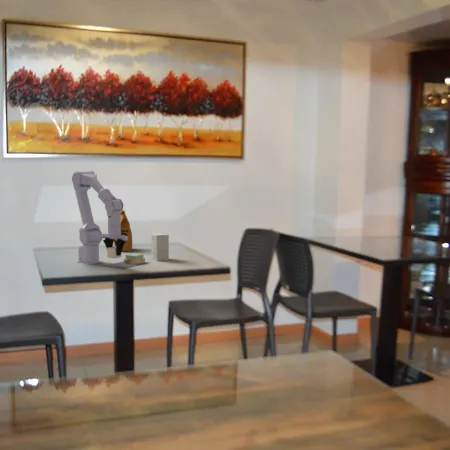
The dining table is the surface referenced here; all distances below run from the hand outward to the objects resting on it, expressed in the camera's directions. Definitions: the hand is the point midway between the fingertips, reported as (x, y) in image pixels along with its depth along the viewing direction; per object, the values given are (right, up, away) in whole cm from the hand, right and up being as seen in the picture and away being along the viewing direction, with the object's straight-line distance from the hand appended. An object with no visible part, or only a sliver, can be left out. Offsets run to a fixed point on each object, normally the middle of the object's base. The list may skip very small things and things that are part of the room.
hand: (114, 254), depth 270 cm
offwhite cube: (0, -1, 0) cm, 1 cm away
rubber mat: (+5, -5, +6) cm, 9 cm away
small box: (+19, -4, +21) cm, 28 cm away
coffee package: (-5, 0, +52) cm, 52 cm away
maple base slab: (+8, -4, +10) cm, 13 cm away
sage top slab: (+8, -2, +10) cm, 13 cm away
